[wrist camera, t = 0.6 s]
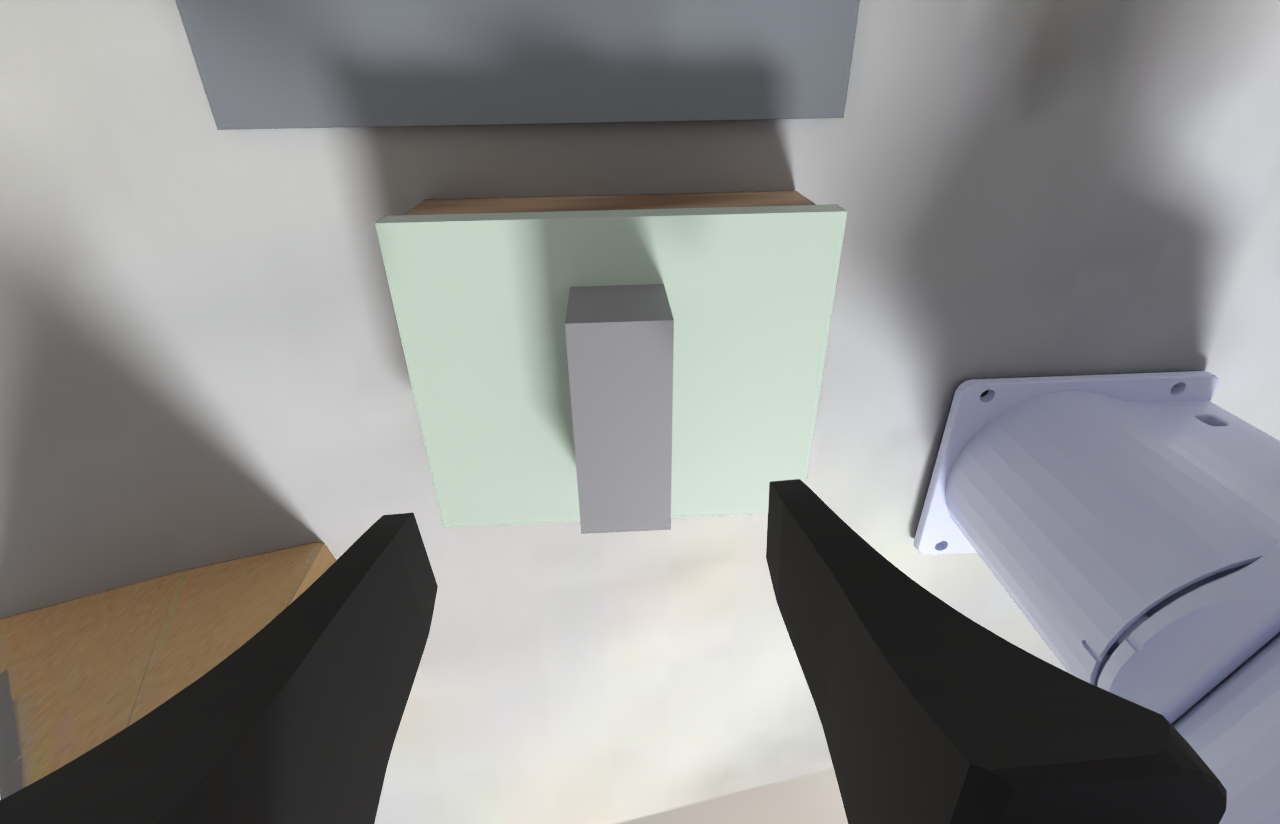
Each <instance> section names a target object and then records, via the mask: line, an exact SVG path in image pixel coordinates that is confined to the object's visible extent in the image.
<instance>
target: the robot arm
mask: <svg viewBox="0 0 1280 824" xmlns="http://www.w3.org/2000/svg"><path fill="white" fill-rule="evenodd" d="M1218 383H1219V381H1218V378H1217V377H1216V376H1215V375H1213V374H1211V373H1209V372H1206V371H1189V372H1161V373H1134V374H1107V375H1080V376H1053V377H1026V378H999V379H972V380H967V381H965V382H963V383H962V384H961V385H960V386H959V387H958V388H957V390H956V392H955V394H954V398H953V402H952V405H951V409H950V413H949V416H948V420H947V423H946V427H945V431H944V434H943V438H942V442H941V445H940V449H939V452H938V456H937V460H936V463H935V467H934V470H933V474H932V478H931V481H930V485H929V489H928V492H927V496H926V499H925V503H924V507H923V510H922V514H921V517H920V521H919V525H918V528H917V532H916V536H915V539H914V546H915V547H916V549H917V550H918V552H919V553H921V554H924V555H931V554H952V553H973V552H977V553H978V555H979V556H980V557H981V558H982V560H983V561H984V562H985V564H986V565H987V566H988V568H989V569H990V570H991V572H992V573H993V574H994V576H995V577H996V578H997V580H998V581H999V582H1000V584H1001V585H1002V586H1003V587H1004V589H1005V590H1006V591H1007V593H1008V594H1009V595H1010V597H1011V598H1012V599H1013V601H1014V602H1015V603H1016V605H1017V606H1018V607H1019V609H1020V610H1021V611H1022V613H1023V614H1024V615H1025V617H1026V618H1027V619H1028V620H1029V622H1030V623H1031V624H1032V626H1033V627H1034V628H1035V630H1036V631H1037V632H1038V634H1039V635H1040V636H1041V638H1042V639H1043V640H1044V642H1045V643H1046V644H1047V646H1048V647H1049V648H1050V649H1051V651H1052V652H1053V653H1054V655H1055V656H1056V657H1057V659H1058V660H1059V661H1060V663H1061V664H1062V665H1063V667H1064V668H1065V669H1066V671H1067V672H1068V673H1067V672H1065V671H1063V670H1061V669H1059V668H1057V667H1055V666H1053V665H1051V664H1049V663H1047V662H1045V661H1043V660H1041V659H1039V658H1037V657H1035V656H1034V655H1032V654H1030V653H1028V652H1026V651H1024V650H1022V649H1021V648H1019V647H1017V646H1015V645H1013V644H1011V643H1010V642H1008V641H1006V640H1004V639H1003V638H1001V637H999V636H998V635H996V634H994V633H992V632H991V631H989V630H987V629H986V628H984V627H982V626H981V625H979V624H977V623H975V622H974V621H972V620H971V619H969V618H967V617H966V616H964V615H963V614H961V613H959V612H958V611H956V610H955V609H953V608H952V607H950V606H949V605H947V604H946V603H945V602H943V601H942V600H940V599H939V598H937V597H936V596H934V595H933V594H931V593H930V592H928V591H927V590H926V589H924V588H923V587H921V586H920V585H919V584H917V583H916V582H914V581H913V580H912V579H910V578H909V577H908V576H907V575H905V574H904V573H903V572H901V571H900V570H899V569H898V568H896V567H895V566H894V565H893V564H891V563H890V562H889V561H888V560H886V559H885V558H884V557H883V556H882V555H881V554H879V553H878V552H877V551H876V550H875V549H874V548H872V547H871V546H870V545H869V544H868V543H867V542H866V541H865V540H863V539H862V538H861V537H860V536H859V535H858V534H857V533H856V532H854V531H853V530H852V529H851V528H850V527H849V526H848V525H847V524H846V523H845V522H844V521H843V520H841V519H840V518H839V517H838V516H837V515H836V514H835V513H834V512H833V511H832V510H831V509H830V508H829V507H828V506H827V505H826V504H825V503H824V502H823V501H822V500H821V499H820V498H819V497H818V496H817V495H816V494H815V493H814V492H813V491H812V490H811V489H810V488H809V487H808V486H807V485H806V484H805V483H804V482H802V481H801V480H800V479H794V480H783V481H772V482H770V484H769V507H768V530H767V553H766V558H767V563H768V567H769V571H770V575H771V580H772V584H773V588H774V592H775V596H776V600H777V603H778V606H779V609H780V612H781V614H782V617H783V620H784V622H785V625H786V628H787V631H788V633H789V636H790V639H791V641H792V644H793V647H794V649H795V652H796V654H797V657H798V660H799V662H800V665H801V668H802V670H803V673H804V676H805V678H806V681H807V684H808V686H809V689H810V691H811V694H812V697H813V699H814V702H815V705H816V708H817V711H818V714H819V717H820V720H821V723H822V726H823V729H824V733H825V737H826V740H827V744H828V748H829V752H830V755H831V759H832V763H833V766H834V770H835V774H836V777H837V781H838V785H839V789H840V793H841V797H842V801H843V804H844V808H845V812H846V816H847V820H848V824H1280V441H1279V440H1277V439H1275V438H1273V437H1272V436H1270V435H1268V434H1266V433H1265V432H1263V431H1261V430H1259V429H1258V428H1256V427H1254V426H1252V425H1250V424H1249V423H1247V422H1245V421H1243V420H1242V419H1240V418H1238V417H1236V416H1235V415H1233V414H1231V413H1229V412H1228V411H1226V410H1224V409H1222V408H1220V407H1219V406H1217V405H1215V404H1213V403H1212V402H1210V400H1211V398H1212V396H1213V394H1214V392H1215V391H1216V389H1217V386H1218ZM1175 384H1176V385H1175ZM1174 385H1175V386H1174ZM1173 386H1174V387H1173ZM1172 387H1173V388H1172ZM986 390H989V391H988V393H987V394H986V395H985V396H983V397H980V396H981V394H982V393H983V392H984V391H986ZM941 541H942V542H941ZM938 542H940V543H938ZM937 543H938V544H937ZM436 592H437V584H436V581H435V577H434V574H433V571H432V568H431V565H430V562H429V559H428V556H427V553H426V550H425V547H424V544H423V541H422V538H421V535H420V532H419V529H418V525H417V522H416V519H415V516H414V513H405V514H394V515H383V516H382V517H381V518H380V519H379V520H378V521H377V522H375V523H374V524H373V525H372V526H371V527H370V528H369V529H368V530H367V531H366V532H365V533H364V534H363V535H362V536H361V537H360V538H359V539H358V540H357V541H356V542H355V543H354V544H353V545H352V546H351V547H350V548H349V549H348V550H347V551H346V552H345V553H344V554H343V555H342V556H341V557H340V558H339V559H338V560H337V561H336V562H335V563H334V564H332V565H331V566H330V567H329V568H328V569H327V570H326V571H325V572H324V573H323V574H322V575H321V576H320V577H319V578H318V579H317V580H316V581H315V582H314V583H313V584H312V585H311V586H310V587H309V588H308V589H306V590H305V591H304V592H303V593H302V594H301V595H300V596H299V597H298V598H296V599H295V600H294V601H293V602H292V603H291V604H290V605H289V606H287V607H286V608H285V609H284V610H283V611H282V612H281V613H280V614H278V615H277V616H276V617H275V618H274V619H273V620H272V621H271V622H270V623H268V624H267V625H266V626H265V627H264V628H263V629H262V630H260V631H259V632H258V633H257V634H256V635H254V636H253V637H252V638H251V639H250V640H248V641H247V642H246V643H245V644H243V645H242V646H241V647H240V648H238V649H237V650H236V651H235V652H233V653H232V654H231V655H229V656H228V657H227V658H225V659H224V660H223V661H222V662H220V663H219V664H218V665H216V666H215V667H214V668H212V669H211V670H210V671H208V672H207V673H206V674H204V675H203V676H202V677H200V678H199V679H198V680H196V681H195V682H193V683H192V684H190V685H189V686H187V687H186V688H184V689H183V690H182V691H180V692H179V693H177V694H176V695H174V696H173V697H171V698H170V699H168V700H167V701H166V702H164V703H163V704H161V705H160V706H158V707H157V708H155V709H154V710H152V711H151V712H150V713H148V714H147V715H145V716H144V717H142V718H141V719H139V720H138V721H136V722H135V723H133V724H131V725H130V726H128V727H127V728H125V729H123V730H122V731H120V732H119V733H117V734H115V735H114V736H112V737H111V738H109V739H107V740H106V741H104V742H103V743H101V744H99V745H98V746H96V747H94V748H93V749H91V750H89V751H88V752H86V753H84V754H83V755H81V756H79V757H78V758H76V759H74V760H73V761H71V762H69V763H67V764H66V765H64V766H62V767H61V768H59V769H57V770H55V771H54V772H52V773H50V774H48V775H47V776H45V777H43V778H41V779H39V780H37V781H36V782H34V783H32V784H30V785H28V786H26V787H24V788H23V789H21V790H19V791H17V792H15V793H13V794H12V795H10V796H8V797H6V798H4V799H2V800H0V824H374V822H375V817H376V813H377V808H378V804H379V799H380V795H381V790H382V786H383V781H384V777H385V772H386V768H387V764H388V760H389V757H390V753H391V750H392V746H393V743H394V740H395V737H396V734H397V731H398V727H399V724H400V721H401V718H402V715H403V712H404V709H405V706H406V703H407V700H408V697H409V694H410V691H411V688H412V685H413V682H414V679H415V676H416V673H417V670H418V667H419V663H420V660H421V657H422V654H423V651H424V648H425V645H426V641H427V638H428V635H429V630H430V625H431V620H432V615H433V610H434V604H435V598H436Z"/></svg>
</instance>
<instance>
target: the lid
mask: <svg viewBox="0 0 1280 824" xmlns="http://www.w3.org/2000/svg"><path fill="white" fill-rule="evenodd" d="M846 217H847V211H846V210H845V209H843V208H841V207H840V206H838V205H798V206H758V207H718V208H678V209H638V210H598V211H557V212H517V213H477V214H437V215H397V216H384V217H383V218H381V219H380V220H379V221H377V222H376V223H375V226H376V231H377V235H378V240H379V244H380V248H381V253H382V257H383V262H384V266H385V271H386V275H387V280H388V284H389V289H390V293H391V297H392V302H393V306H394V311H395V315H396V320H397V324H398V329H399V333H400V338H401V342H402V347H403V351H404V355H405V360H406V364H407V369H408V373H409V378H410V382H411V387H412V391H413V396H414V400H415V404H416V409H417V413H418V418H419V422H420V427H421V431H422V436H423V440H424V445H425V449H426V453H427V458H428V462H429V467H430V471H431V476H432V480H433V485H434V489H435V494H436V498H437V503H438V507H439V511H440V516H441V520H442V525H443V528H462V527H484V526H506V525H528V524H550V523H572V522H581V534H583V533H605V532H626V531H648V530H670V529H671V518H682V517H704V516H726V515H748V514H768V507H769V484H770V482H772V481H783V480H794V479H800V480H801V481H802V482H804V483H805V484H806V481H807V475H808V468H809V461H810V455H811V448H812V442H813V435H814V428H815V422H816V415H817V409H818V402H819V395H820V389H821V382H822V376H823V369H824V362H825V356H826V349H827V343H828V336H829V330H830V323H831V316H832V310H833V303H834V297H835V290H836V283H837V277H838V270H839V264H840V257H841V250H842V244H843V237H844V231H845V224H846Z"/></svg>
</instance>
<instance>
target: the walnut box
mask: <svg viewBox="0 0 1280 824" xmlns="http://www.w3.org/2000/svg"><path fill="white" fill-rule="evenodd" d="M798 205H816V204H814V203H813V202H811V201H810V200H809V199H807V198H806V197H804V196H803V195H801V194H800V193H798V192H797V191H770V192H728V193H686V194H644V195H603V196H561V197H519V198H477V199H435V200H424V201H423V202H421V203H420V204H419V205H418V206H416V207H415V208H414V209H413V210H411V211H410V212H409V213H408V214H406V215H437V214H477V213H517V212H557V211H598V210H638V209H678V208H718V207H758V206H798Z"/></svg>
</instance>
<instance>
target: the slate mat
mask: <svg viewBox="0 0 1280 824" xmlns="http://www.w3.org/2000/svg"><path fill="white" fill-rule="evenodd" d="M859 2H860V0H176V3H177V6H178V9H179V12H180V15H181V18H182V22H183V25H184V28H185V31H186V34H187V37H188V40H189V43H190V46H191V49H192V52H193V55H194V58H195V61H196V65H197V68H198V71H199V74H200V77H201V80H202V83H203V86H204V89H205V92H206V95H207V98H208V101H209V104H210V108H211V111H212V114H213V117H214V120H215V123H216V126H217V129H218V130H226V129H278V128H331V127H383V126H435V125H488V124H540V123H593V122H645V121H697V120H750V119H802V118H844V111H845V104H846V96H847V89H848V82H849V75H850V67H851V60H852V53H853V46H854V39H855V31H856V24H857V17H858V10H859Z"/></svg>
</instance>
